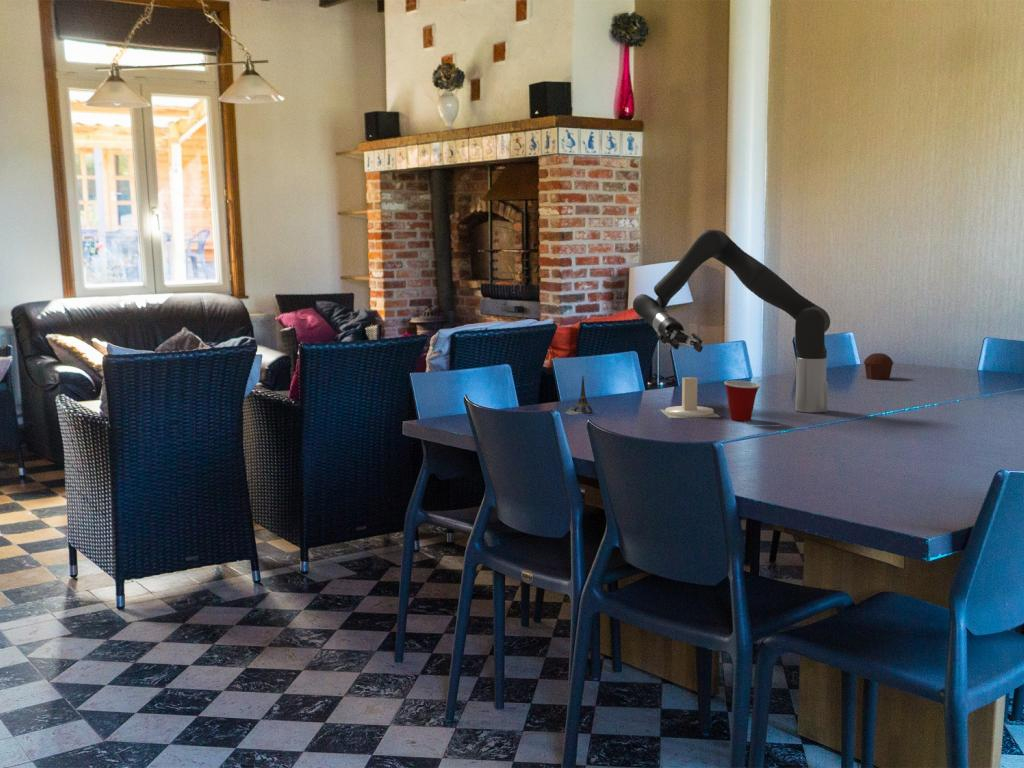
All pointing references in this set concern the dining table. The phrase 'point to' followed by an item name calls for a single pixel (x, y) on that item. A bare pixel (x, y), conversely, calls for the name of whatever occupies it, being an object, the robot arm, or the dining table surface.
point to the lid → (689, 401)
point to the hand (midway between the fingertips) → (689, 348)
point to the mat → (687, 417)
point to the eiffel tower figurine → (581, 403)
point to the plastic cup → (741, 399)
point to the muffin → (878, 366)
